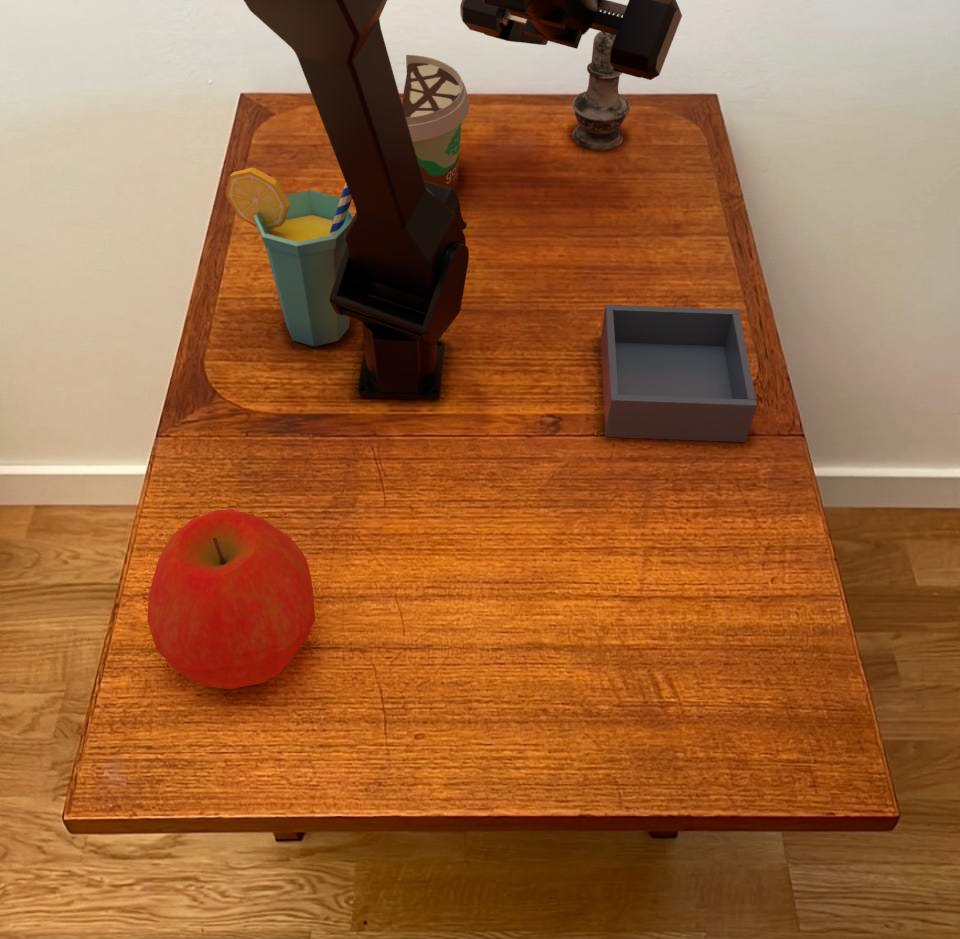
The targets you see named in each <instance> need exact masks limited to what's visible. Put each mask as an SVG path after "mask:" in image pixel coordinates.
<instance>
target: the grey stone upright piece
mask: <svg viewBox="0 0 960 939" xmlns="http://www.w3.org/2000/svg"><path fill="white" fill-rule="evenodd" d="M615 37H616V35H614V34H610V33H606V32H602V31H598V33H596V34H595V36H594V38H593V42H592V52H591V53H592V54H591V62H589V63H588V65H587V66H586V70H587V73H588V74H589V76H588V86H587V89H586V90H585V91H583V92H580V93H578V94H577V95H576V96H575V97H574V98H573V100H572V103H571V106H572V109H573V111H574V116H575V120H576V122H577V124H578V125H577V126H576V127H574V129H573V131H572V139H573V141H574V142H575V143H576V144H577V145H579V146H580V147H581V148H584V149H587V150H592V151H609V150H612V149H615V148H617V147H619V146H620V145H621V144H622V143H623V141H624V134H623V132H622V130H621V129H620V127H621V126H622V125H623V123H624V121H625V119H626V117H627V115H628V114H629V113H630V110H631V104H630V102H629V99H627V98H626V97H625V96H624V95H622V94H620V93H619V83H620V76H622V75H623V73H620V72H617V71H614V70H613V68H614V67H612V65H611V63H610V57H611V47H612V45H613V42H614V39H615Z"/></svg>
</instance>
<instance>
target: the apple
mask: <svg viewBox="0 0 960 939" xmlns="http://www.w3.org/2000/svg"><path fill="white" fill-rule="evenodd" d="M314 596H315V595H314V588H313V581H312V576H311V571H310V568H309V563H308V560H307V558H306V556H305V554H304V552H303V551H302V550H301V548H300V547H299V545H298V544H297V543H296V542H295V541H294V540H293V539H292V538H291V536H289V535H287V534H286V533H285V532H283V531H281V529H279V528H277V527H276V526H274V525H273V524H271V523H270V522H268V521H267V520H266V519H264V518H262V517H259V516H256V515H255V514H252V513H247V512H243V511H238V510H234V509H230V508H229V509H215V510H213V511H210V512H208V513H204V514H202V515H200V516H197V517H195V518H192V519H190V520H189V521H188V522H187V523H186V524H184V525H183V526H182V527H180V528H179V529H178V530H176V531H175V532H174V533H173V534H172V535H171V536H170V538H169V540H168V541H167V543H166V545H165V546H164V548H163V549H162V551H161V553H160V555H159V557H158V559H157V563H156V567H155V570H154V573H153V578H152V581H151V584H150V588H149V592H148V603H147V623H148V627H149V632H150V634H151V637H152V639H153V643H154V645H155V648H156V650H157V652H158V653H159V654H160V655H161V656H162V657H163V658H164V659H165V661H166V662H167V663H168V664H169V665H170V666H171V667H172V668H173V670H175V671H176V672H178V673H179V674H181V675H182V676H184V677H185V678H187V679H188V680H190V681H191V682H193V683H196V684H199V685H202V686H205V687H208V688H209V687H210V688H218V689H223V690H234V689H240V688H244V687H248V686H254V685H259V684H263V683H266V682H267V681H269V680H270V679H272V678H274V677H275V676H277V675H279V674H280V673H281V672H282V671H283V670H284V669H285V668H286V667H287V666H288V664H289V663H290V661H291V660H292V659H293V658H294V656H295V655H296V653H297V652H298V651H299V650H300V648H301V646H302V645H303V644H304V642H306V640H307V639H308V636H309V635H310V632H311V630H312V627H313V625H314V623H315V621H316V614H315V597H314Z"/></svg>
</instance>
